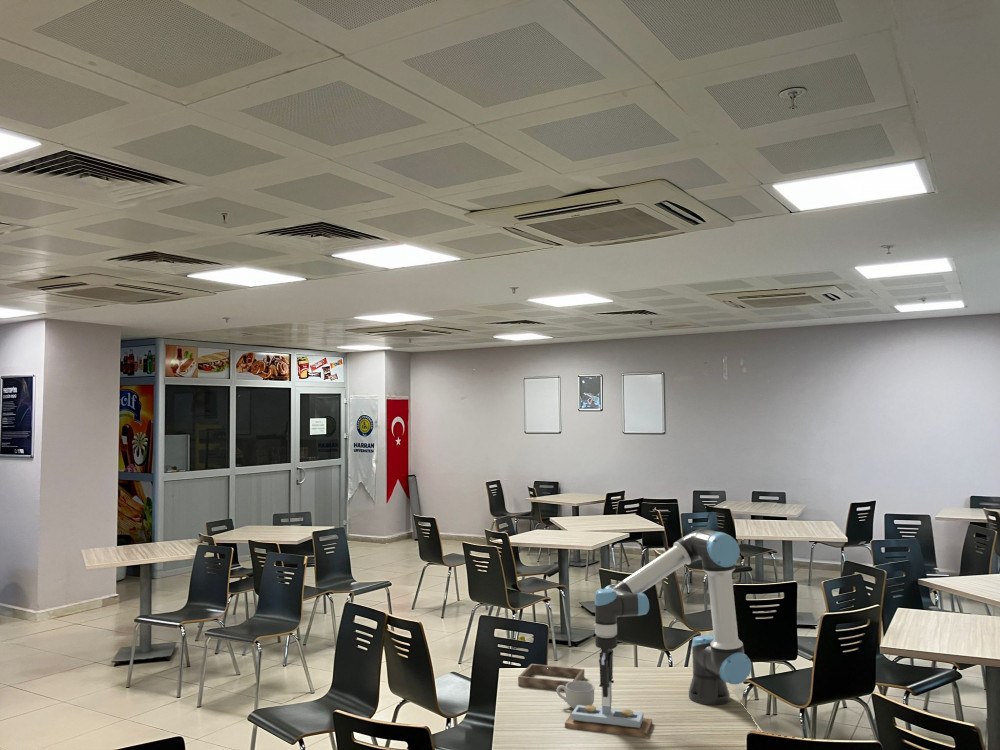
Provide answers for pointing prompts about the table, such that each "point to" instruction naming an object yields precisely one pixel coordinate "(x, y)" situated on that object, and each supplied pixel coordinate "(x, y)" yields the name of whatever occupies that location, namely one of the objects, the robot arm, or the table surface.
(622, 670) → the table surface
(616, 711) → the blue post stand
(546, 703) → the table surface
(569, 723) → the boss board
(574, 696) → the teacup
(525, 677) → the open brown wooden frame
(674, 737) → the table surface
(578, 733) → the table surface
